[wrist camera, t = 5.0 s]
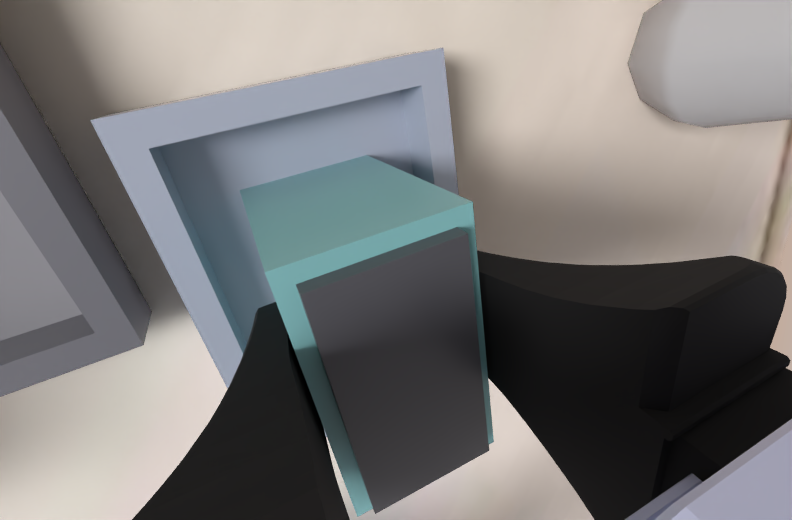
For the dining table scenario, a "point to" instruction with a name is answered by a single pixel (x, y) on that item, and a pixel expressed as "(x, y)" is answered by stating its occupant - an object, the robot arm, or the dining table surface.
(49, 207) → the bay
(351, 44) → the dining table surface
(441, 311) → the teal block grey face
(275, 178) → the tray
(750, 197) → the dining table surface
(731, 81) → the salt shaker
